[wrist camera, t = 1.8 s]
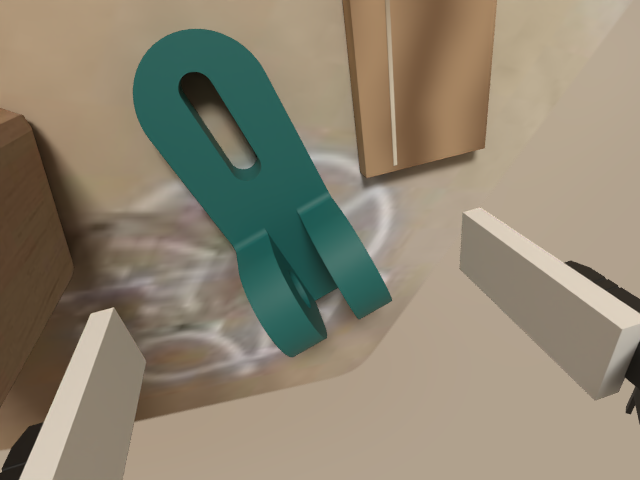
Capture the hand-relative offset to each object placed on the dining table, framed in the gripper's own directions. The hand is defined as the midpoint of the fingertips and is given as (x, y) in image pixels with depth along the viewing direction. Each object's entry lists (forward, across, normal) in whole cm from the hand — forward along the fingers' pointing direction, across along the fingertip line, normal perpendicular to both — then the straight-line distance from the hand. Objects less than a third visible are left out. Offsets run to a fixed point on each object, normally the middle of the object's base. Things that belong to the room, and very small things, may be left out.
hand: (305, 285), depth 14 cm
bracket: (+12, 0, 0) cm, 12 cm away
